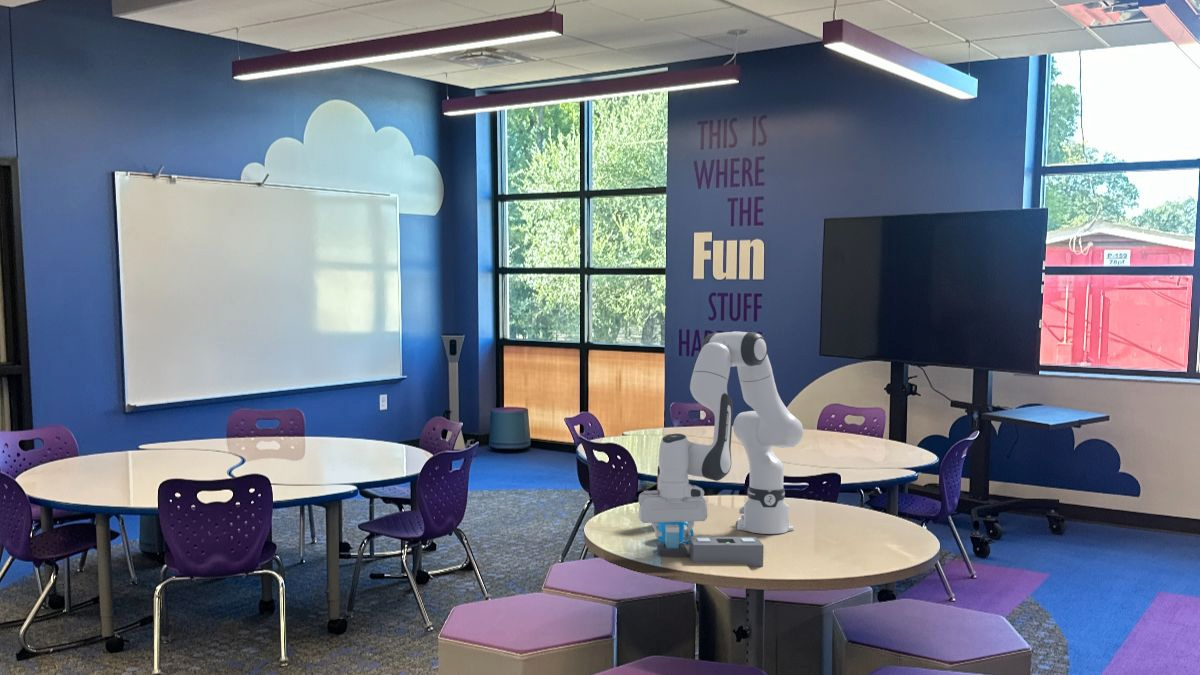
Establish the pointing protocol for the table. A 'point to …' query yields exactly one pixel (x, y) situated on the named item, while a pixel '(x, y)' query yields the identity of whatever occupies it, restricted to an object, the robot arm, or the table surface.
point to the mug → (681, 530)
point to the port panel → (726, 550)
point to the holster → (672, 550)
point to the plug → (672, 536)
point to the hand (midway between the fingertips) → (672, 536)
